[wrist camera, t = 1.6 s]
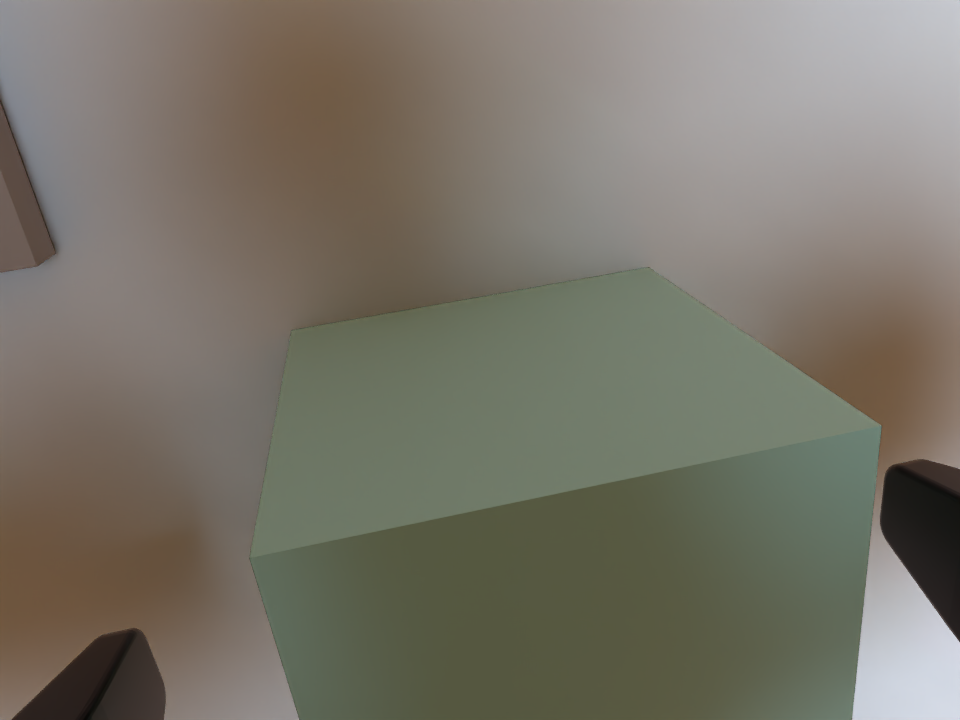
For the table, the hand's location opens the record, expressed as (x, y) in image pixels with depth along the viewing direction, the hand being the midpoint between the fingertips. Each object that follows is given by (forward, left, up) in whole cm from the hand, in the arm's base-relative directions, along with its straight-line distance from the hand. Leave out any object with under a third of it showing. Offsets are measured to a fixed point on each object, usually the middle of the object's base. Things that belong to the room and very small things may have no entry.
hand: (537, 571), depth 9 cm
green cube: (0, 0, -3) cm, 3 cm away
